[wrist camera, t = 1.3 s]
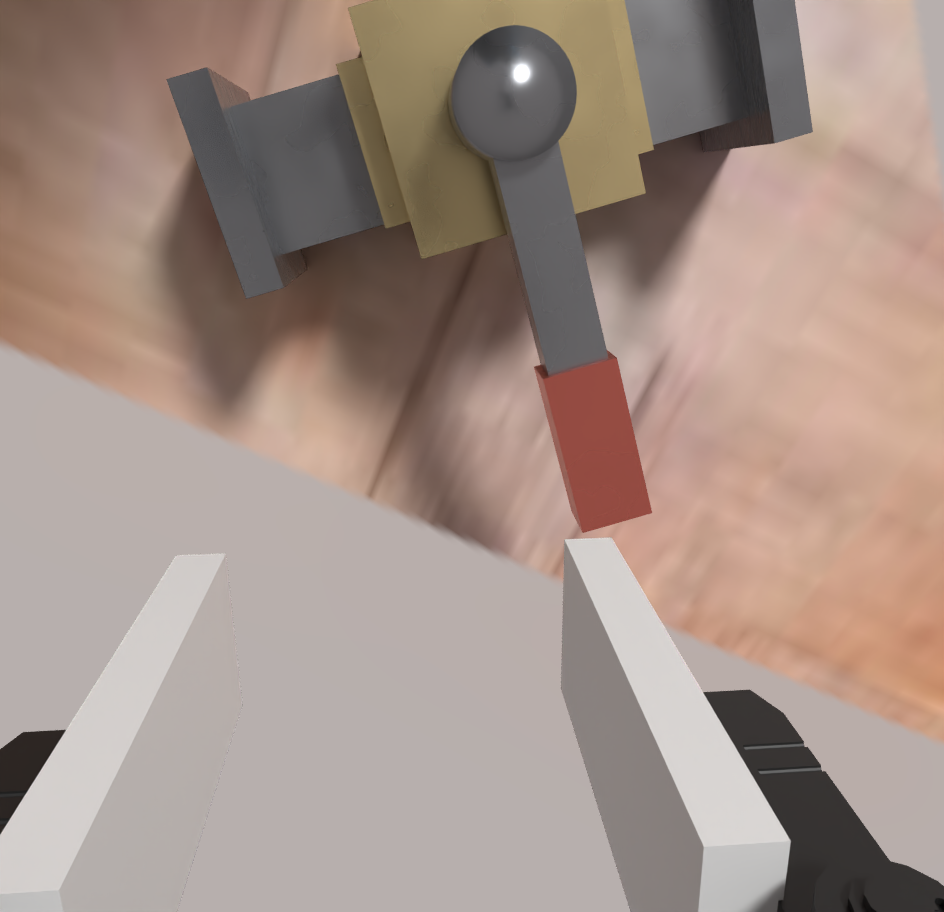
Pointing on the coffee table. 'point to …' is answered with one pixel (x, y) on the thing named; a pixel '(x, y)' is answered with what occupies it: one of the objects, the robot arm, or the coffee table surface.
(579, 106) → the valve body
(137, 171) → the coffee table surface
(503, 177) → the lever
